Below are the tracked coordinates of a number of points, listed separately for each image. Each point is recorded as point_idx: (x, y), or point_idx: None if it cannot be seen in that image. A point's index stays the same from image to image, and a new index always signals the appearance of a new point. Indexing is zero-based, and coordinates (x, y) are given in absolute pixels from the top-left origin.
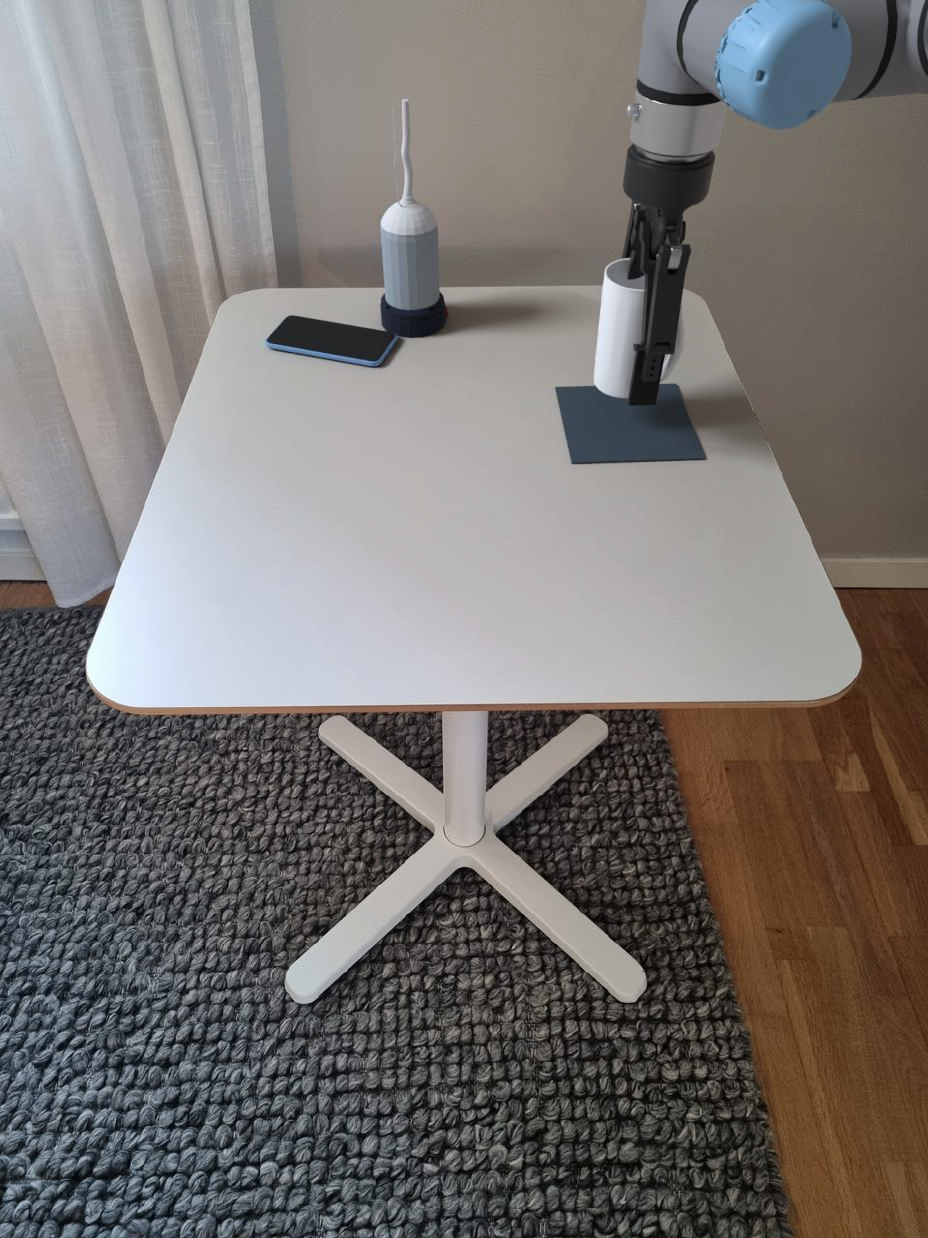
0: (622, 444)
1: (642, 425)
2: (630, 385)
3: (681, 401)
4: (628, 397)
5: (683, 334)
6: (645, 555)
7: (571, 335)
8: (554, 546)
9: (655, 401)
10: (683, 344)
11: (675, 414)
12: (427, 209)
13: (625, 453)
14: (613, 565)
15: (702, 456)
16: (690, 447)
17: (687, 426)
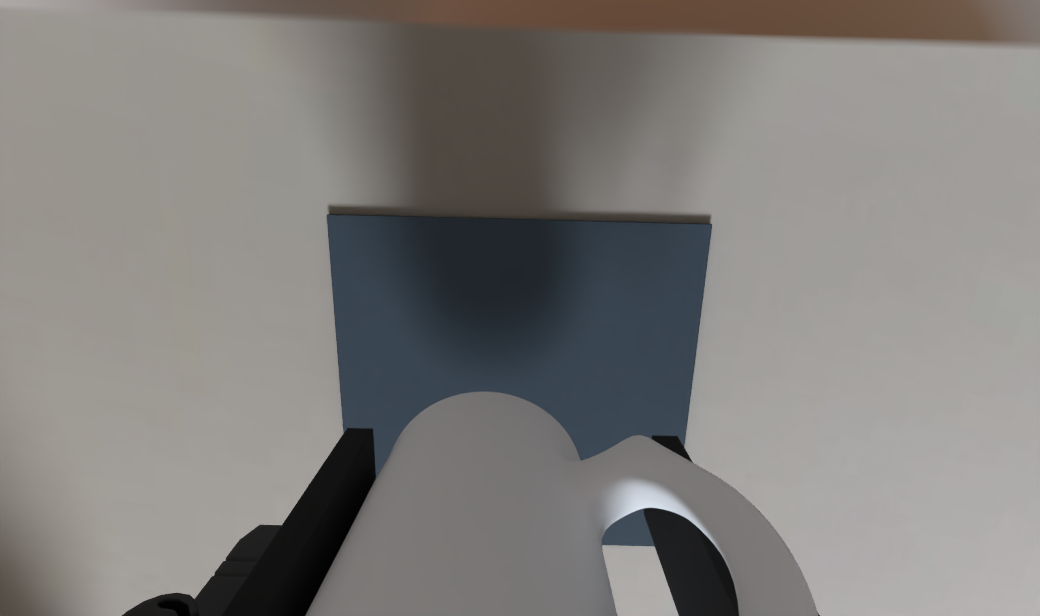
0: (618, 426)
1: (540, 360)
2: (661, 560)
3: (427, 222)
4: (647, 523)
5: (815, 610)
6: (1019, 449)
7: (76, 459)
8: (931, 609)
9: (682, 446)
10: (787, 548)
11: (494, 257)
12: None
13: (658, 426)
14: (1025, 516)
15: (704, 230)
16: (656, 253)
17: (556, 236)
